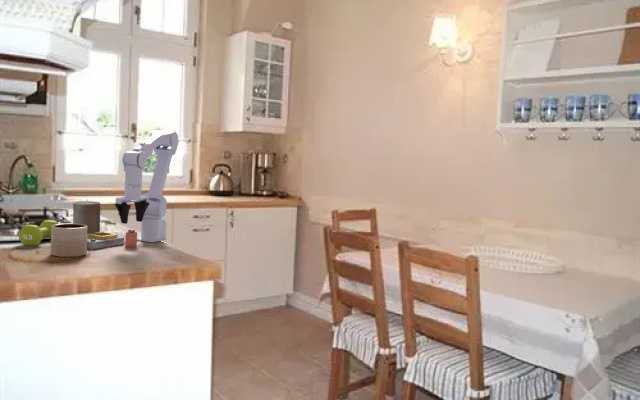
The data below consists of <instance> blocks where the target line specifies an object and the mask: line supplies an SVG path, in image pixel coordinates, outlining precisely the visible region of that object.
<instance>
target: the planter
mask: <svg viewBox="0 0 640 400" xmlns="http://www.w3.org/2000/svg"><path fill="white" fill-rule="evenodd" d="M87 251H88V249H87V225H83V224H74V223H73V222H72V223H58V224H55V225H52V226H51V240H50V255H51V256H53V257H55V256H58V257H57V258H64V257H71V258H79V256H80V257H83V256H86V254H87V253H88V252H87Z"/></svg>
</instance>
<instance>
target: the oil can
mask: <svg viewBox="0 0 640 400" xmlns="http://www.w3.org/2000/svg"><path fill="white" fill-rule="evenodd" d="M137 238H138V231H136V229H133V228H132V229H127V231H125V238H124V248H127V249H136V248H137V247H138V240H137Z"/></svg>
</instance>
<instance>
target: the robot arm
mask: <svg viewBox="0 0 640 400" xmlns="http://www.w3.org/2000/svg"><path fill="white" fill-rule="evenodd" d="M179 141H180V140H179V135H178V133H177V132H176V131H175V130H174V131H173V130H172V131H166V130H155V129H154V130H152V131H151V132H150V134H149V138H148V139H147V140H146V141H140V142H139V143H138V145H137V146H136V147H134V148H133V149H132V150H128V151H126V152H124V153H123V155H122V161H121V163H122V166H123V172H125V173H124V174H125V175H124V195H123V196H120V197H115V203H114V207H115V208H116V209H117V212H118V215H119V218H120V223H121V224H124V225H125V224H128V222H129V213H130V210H131V207H132V205H131V203H133V204H134V207H135V219H136V222H140V223H141V228H140V229H141V230H140V237H137V241H140V242H147V243H156V242H161V241H165V240H166V241H167V240H168V238H167V221H166V219H165V218H164V217H165V215H166V213H167V205H168V201H167V199H166V197H165V196H164V195H163V193H164V192H163V191H164V188H165V185H166V180H167V176H168V172H169V169H170V164H171V162H172V157H173V156H175V155H176V153H177V148H178V146H179ZM154 153H155V154H156V155H157V156H158V157H157V160H156V165H155V168H154V170H153V171H154V172H153V175H152V178H151V182H150V186H149V188H148V189H149V190H148V192H146V193H144V194H142V188H143V187H142V186H143V185H142V184H143V168H145V167H146V164H147V162H148V159H149V158H150V157H151V156H152V155H153V154H154Z"/></svg>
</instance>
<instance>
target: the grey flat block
mask: <svg viewBox="0 0 640 400" xmlns="http://www.w3.org/2000/svg"><path fill="white" fill-rule="evenodd" d="M122 245H125V237H123V236H118V233H114V232H108V231H100V232H95V233H88V234H87V250H92V251H93V250H99V249H104V248H109V247H114V246H115V247H116V246H122Z"/></svg>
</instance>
